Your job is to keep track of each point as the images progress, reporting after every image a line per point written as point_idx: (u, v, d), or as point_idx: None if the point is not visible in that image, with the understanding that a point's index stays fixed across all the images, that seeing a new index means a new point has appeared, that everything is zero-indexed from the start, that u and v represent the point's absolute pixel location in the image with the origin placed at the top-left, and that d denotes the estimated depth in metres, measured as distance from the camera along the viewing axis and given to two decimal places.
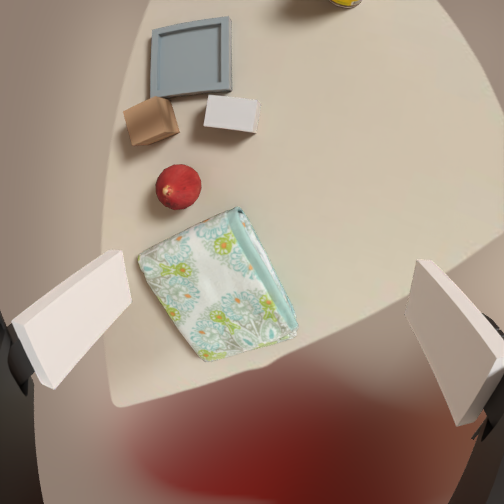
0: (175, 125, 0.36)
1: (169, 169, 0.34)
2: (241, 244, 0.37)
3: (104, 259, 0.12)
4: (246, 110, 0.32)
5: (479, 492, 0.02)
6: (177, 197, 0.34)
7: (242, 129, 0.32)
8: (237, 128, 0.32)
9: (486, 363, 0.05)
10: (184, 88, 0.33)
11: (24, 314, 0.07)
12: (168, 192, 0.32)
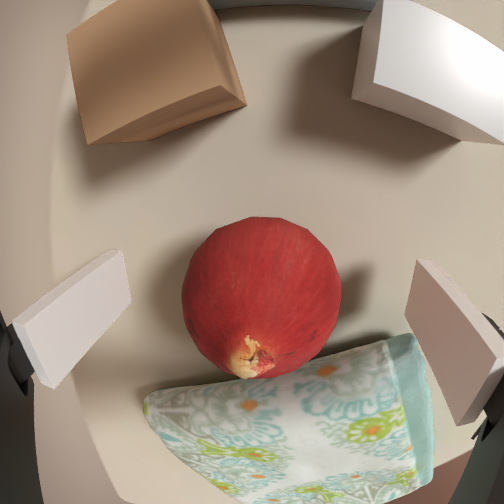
0: (237, 81, 0.11)
1: (240, 249, 0.09)
2: (411, 424, 0.12)
3: (104, 259, 0.12)
4: (494, 76, 0.06)
5: (479, 492, 0.02)
6: (283, 369, 0.08)
7: (487, 129, 0.07)
8: (476, 120, 0.07)
9: (486, 363, 0.05)
10: None
11: (24, 314, 0.07)
12: (257, 375, 0.07)
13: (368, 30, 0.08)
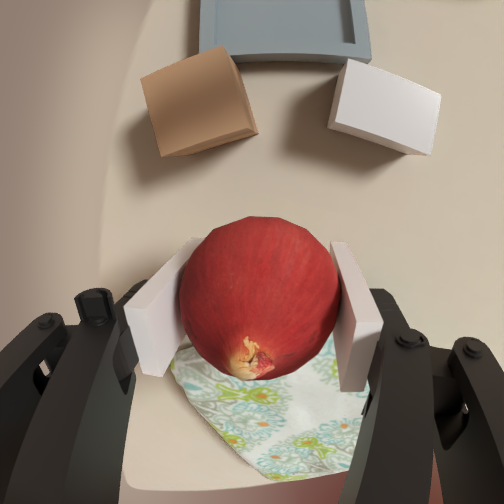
0: (252, 118, 0.17)
1: (239, 248, 0.08)
2: None
3: (194, 246, 0.13)
4: (422, 109, 0.13)
5: (356, 476, 0.04)
6: (282, 371, 0.08)
7: (413, 146, 0.14)
8: (405, 141, 0.14)
9: (352, 328, 0.07)
10: (277, 45, 0.15)
11: (137, 299, 0.08)
12: (257, 377, 0.07)
13: (339, 82, 0.15)
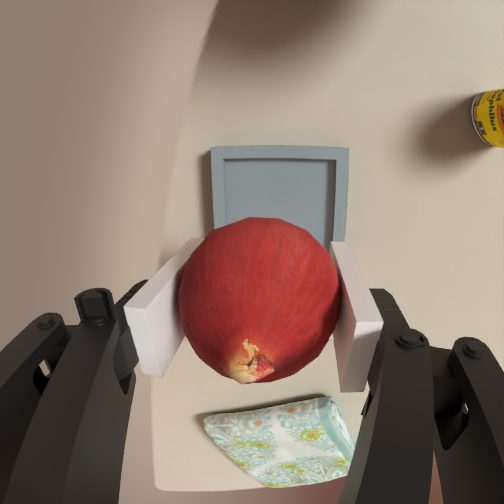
0: None
1: (238, 250, 0.08)
2: (330, 434, 0.29)
3: (194, 246, 0.13)
4: None
5: (356, 476, 0.04)
6: (283, 373, 0.08)
7: None
8: None
9: (352, 328, 0.07)
10: None
11: (137, 299, 0.08)
12: (256, 380, 0.07)
13: None
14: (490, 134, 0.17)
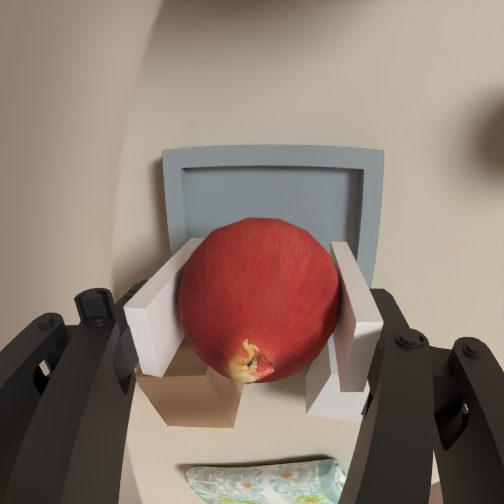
0: None
1: (238, 250, 0.08)
2: (331, 499, 0.21)
3: (194, 246, 0.13)
4: None
5: (357, 475, 0.04)
6: (282, 373, 0.08)
7: None
8: None
9: (352, 328, 0.07)
10: None
11: (137, 299, 0.08)
12: (256, 380, 0.07)
13: (322, 361, 0.17)
14: None
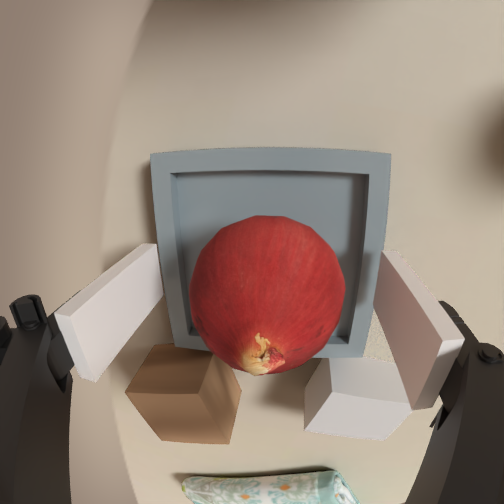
0: (235, 389, 0.19)
1: (248, 248, 0.09)
2: None
3: (140, 252, 0.12)
4: (391, 418, 0.14)
5: (434, 484, 0.03)
6: (292, 364, 0.09)
7: (371, 438, 0.15)
8: (364, 436, 0.15)
9: (434, 346, 0.06)
10: None
11: (67, 306, 0.08)
12: (268, 371, 0.07)
13: (322, 376, 0.16)
14: None
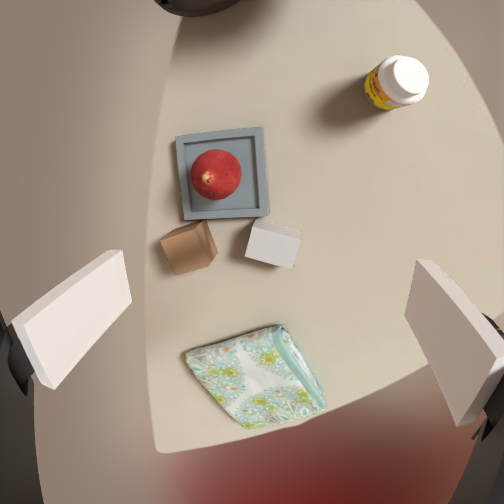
0: (213, 247, 0.40)
1: (206, 154, 0.30)
2: (284, 358, 0.41)
3: (104, 259, 0.12)
4: (288, 248, 0.35)
5: (479, 492, 0.02)
6: (219, 185, 0.30)
7: (282, 265, 0.36)
8: (278, 264, 0.36)
9: (486, 363, 0.05)
10: (220, 213, 0.37)
11: (24, 314, 0.07)
12: (209, 178, 0.28)
13: None
14: (374, 100, 0.28)
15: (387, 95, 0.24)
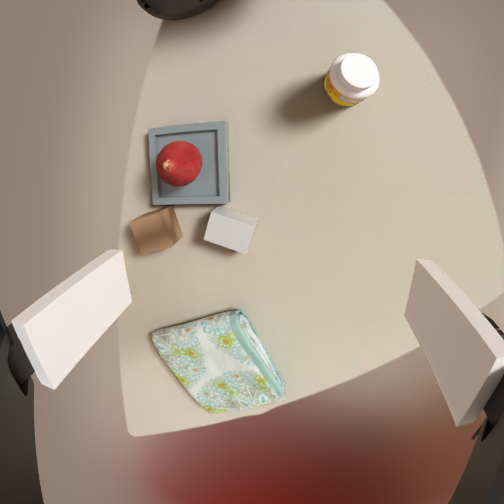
0: (178, 231, 0.42)
1: (170, 145, 0.33)
2: (240, 342, 0.43)
3: (104, 259, 0.12)
4: (243, 234, 0.38)
5: (479, 492, 0.02)
6: (178, 172, 0.32)
7: (237, 250, 0.39)
8: (233, 248, 0.39)
9: (486, 363, 0.05)
10: (185, 199, 0.39)
11: (24, 314, 0.07)
12: (168, 166, 0.31)
13: None
14: (331, 96, 0.31)
15: (337, 90, 0.27)
